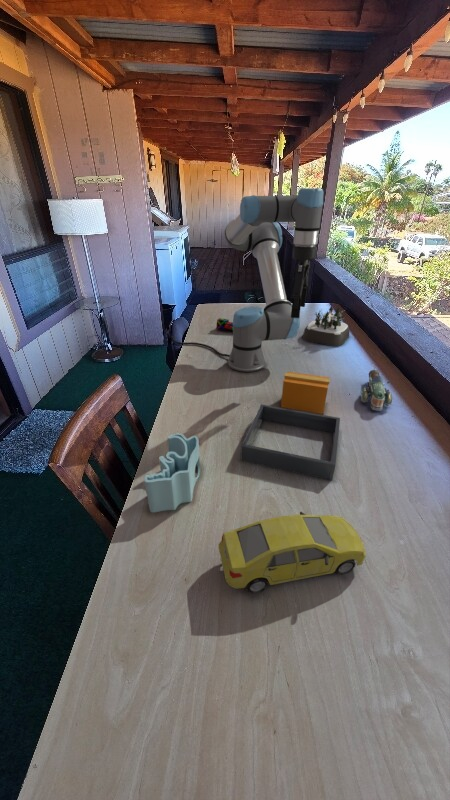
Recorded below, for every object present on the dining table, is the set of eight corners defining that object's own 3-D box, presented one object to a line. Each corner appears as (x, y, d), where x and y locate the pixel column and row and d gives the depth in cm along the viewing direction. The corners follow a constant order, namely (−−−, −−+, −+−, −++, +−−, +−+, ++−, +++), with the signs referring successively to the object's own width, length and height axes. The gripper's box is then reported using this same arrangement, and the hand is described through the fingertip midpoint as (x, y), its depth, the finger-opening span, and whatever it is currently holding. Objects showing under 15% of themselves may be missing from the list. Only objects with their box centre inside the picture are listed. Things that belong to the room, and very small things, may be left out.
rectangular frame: (241, 460, 95) (241, 445, 92) (260, 417, 113) (261, 404, 110) (332, 480, 88) (335, 465, 86) (337, 431, 106) (340, 417, 104)
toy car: (372, 576, 66) (385, 542, 61) (229, 608, 61) (229, 574, 56) (341, 525, 76) (350, 492, 71) (216, 549, 71) (215, 516, 66)
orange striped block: (280, 407, 118) (282, 378, 112) (284, 396, 124) (286, 369, 119) (323, 414, 114) (328, 385, 108) (325, 403, 120) (330, 375, 115)
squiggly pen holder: (190, 515, 79) (188, 484, 74) (148, 512, 80) (142, 482, 75) (202, 462, 94) (201, 434, 90) (166, 459, 95) (163, 432, 90)
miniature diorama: (351, 335, 176) (358, 301, 168) (339, 348, 162) (346, 311, 153) (313, 327, 186) (318, 295, 177) (299, 339, 171) (303, 305, 162)
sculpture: (273, 329, 171) (216, 320, 179) (272, 339, 173) (215, 329, 181) (276, 326, 179) (221, 317, 186) (275, 335, 181) (220, 326, 188)
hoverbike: (360, 410, 116) (365, 389, 112) (358, 377, 136) (362, 358, 132) (391, 415, 114) (398, 393, 109) (384, 380, 134) (390, 361, 130)
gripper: (312, 251, 99) (304, 324, 110) (321, 241, 119) (313, 303, 130) (286, 250, 101) (280, 321, 112) (299, 240, 121) (293, 301, 132)
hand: (298, 311), depth 121 cm, fingers open, 13 cm apart
